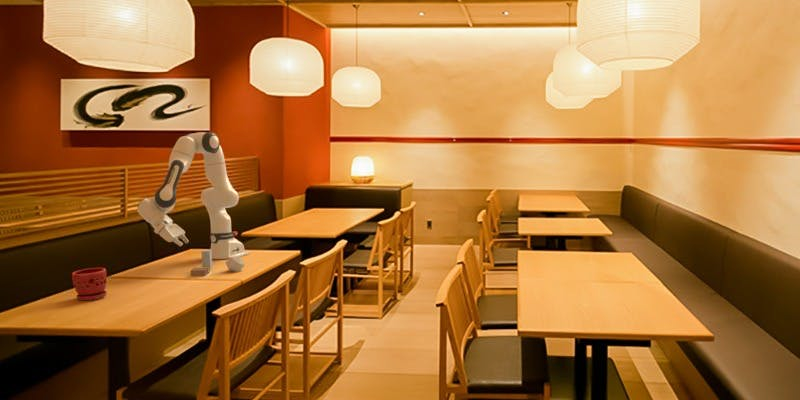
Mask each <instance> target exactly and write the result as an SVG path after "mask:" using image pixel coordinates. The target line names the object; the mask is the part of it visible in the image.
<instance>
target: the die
mask: <svg viewBox="0 0 800 400" xmlns="http://www.w3.org/2000/svg"><path fill="white" fill-rule="evenodd" d="M225 266H226V267H227V269H228V272H234V273H235V272H236V273H239V272H240V271H241V270H242V269H243V268H244V267H245V266H246V264H245V263H244V260H243V257H242V256H232V257H230V258H229V259H227V261H225Z"/></svg>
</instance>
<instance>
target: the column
mask: <svg viewBox="0 0 800 400" xmlns="http://www.w3.org/2000/svg"><path fill="white" fill-rule="evenodd" d="M201 266H202V267H209V271H211V270H213V259H212V250H211V249H203V250H201Z"/></svg>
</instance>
